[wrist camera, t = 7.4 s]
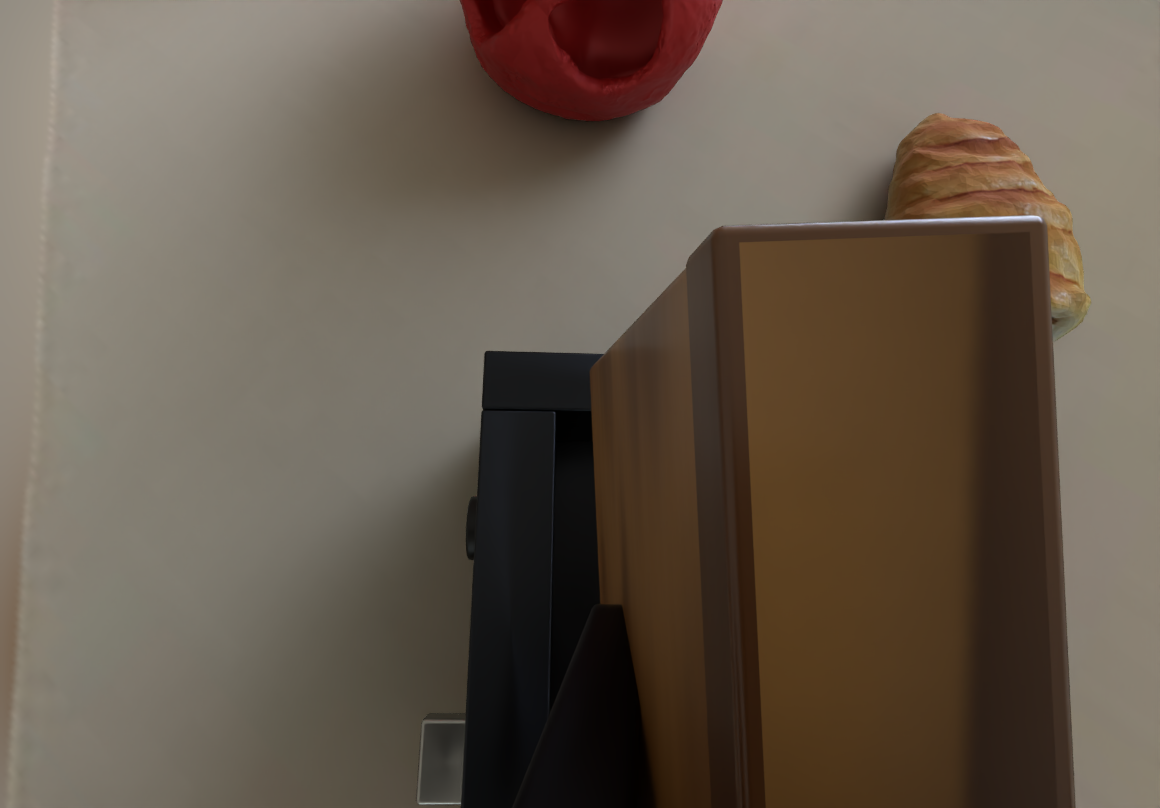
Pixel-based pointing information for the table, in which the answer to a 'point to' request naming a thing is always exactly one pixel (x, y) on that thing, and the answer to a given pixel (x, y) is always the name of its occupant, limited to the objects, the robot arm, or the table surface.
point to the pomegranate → (588, 50)
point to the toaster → (520, 576)
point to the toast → (842, 519)
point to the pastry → (986, 197)
